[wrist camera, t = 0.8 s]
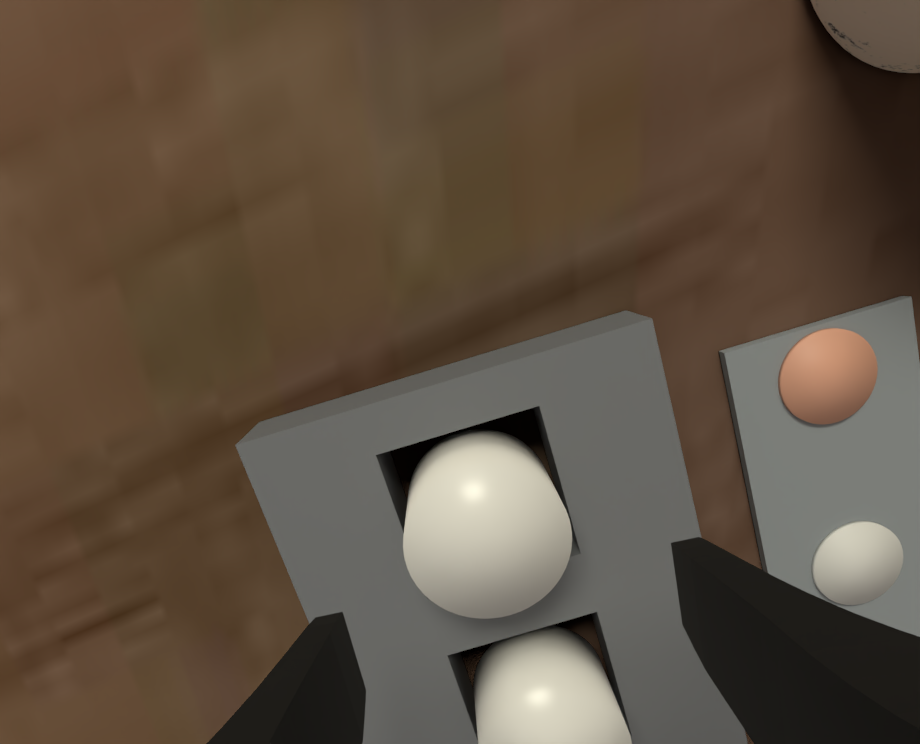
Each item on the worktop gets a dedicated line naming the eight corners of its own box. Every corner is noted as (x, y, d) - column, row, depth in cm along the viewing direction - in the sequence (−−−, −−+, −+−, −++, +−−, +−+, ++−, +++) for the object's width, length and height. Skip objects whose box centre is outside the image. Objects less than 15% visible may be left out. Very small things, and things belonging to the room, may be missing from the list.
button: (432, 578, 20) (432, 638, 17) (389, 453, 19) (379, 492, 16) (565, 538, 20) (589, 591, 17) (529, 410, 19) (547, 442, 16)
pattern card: (803, 771, 25) (811, 783, 24) (718, 351, 21) (727, 353, 20) (955, 727, 25) (968, 739, 24) (902, 295, 20) (916, 297, 20)
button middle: (493, 752, 22) (503, 835, 19) (457, 646, 21) (460, 716, 18) (616, 716, 22) (647, 795, 19) (585, 608, 21) (612, 672, 17)
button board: (456, 914, 26) (458, 983, 23) (259, 422, 20) (235, 445, 18) (748, 831, 25) (781, 893, 23) (625, 310, 20) (652, 318, 18)
